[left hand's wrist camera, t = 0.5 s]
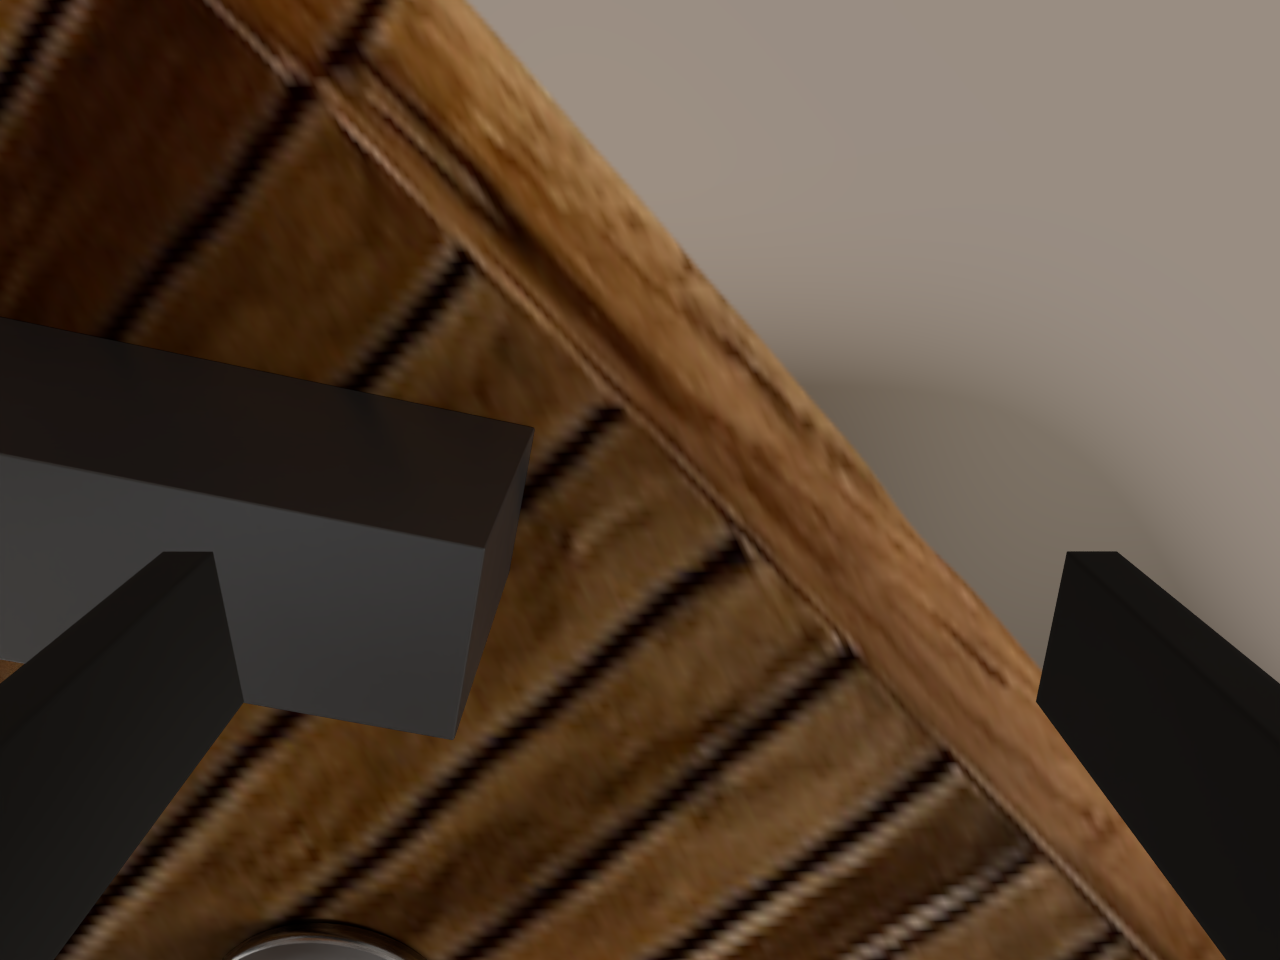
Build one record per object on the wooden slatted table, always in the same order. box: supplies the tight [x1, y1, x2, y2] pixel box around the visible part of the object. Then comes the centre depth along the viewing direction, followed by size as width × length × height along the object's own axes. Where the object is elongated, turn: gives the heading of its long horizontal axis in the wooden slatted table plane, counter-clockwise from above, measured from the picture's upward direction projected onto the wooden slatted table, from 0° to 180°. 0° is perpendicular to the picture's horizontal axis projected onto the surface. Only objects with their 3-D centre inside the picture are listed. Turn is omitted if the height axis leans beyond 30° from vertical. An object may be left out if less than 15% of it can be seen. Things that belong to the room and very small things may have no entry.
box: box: [0, 317, 535, 740], centre depth 31 cm, size 30×7×12 cm, turn 78°
